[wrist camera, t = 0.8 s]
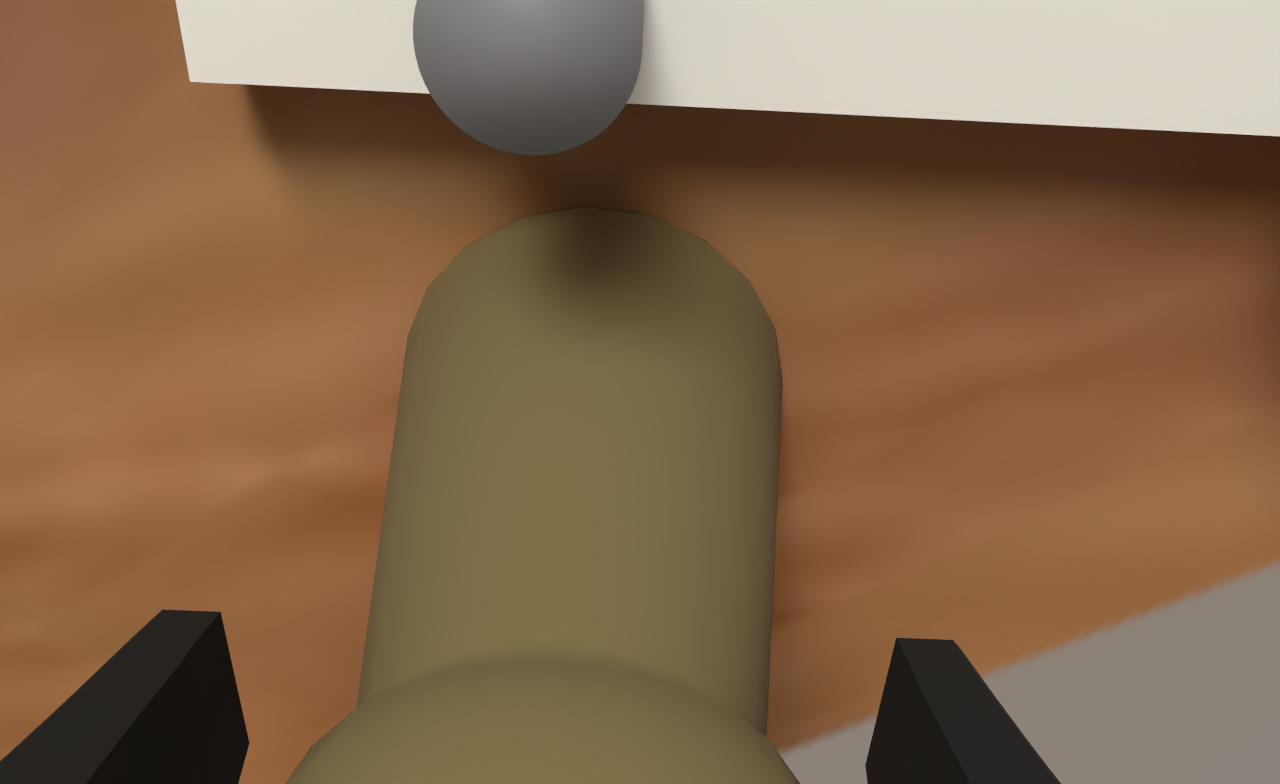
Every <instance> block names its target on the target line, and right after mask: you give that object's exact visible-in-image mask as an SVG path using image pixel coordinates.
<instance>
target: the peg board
mask: <svg viewBox="0 0 1280 784" xmlns="http://www.w3.org/2000/svg"><path fill="white" fill-rule="evenodd" d="M176 5H177V11H178V16H179V22H180V28H181V33H182V39H183V45H184V50H185V56H186V62H187V67H188V73H189V78H190V82H208V83H228V84H248V85H268V86H288V87H308V88H328V89H348V90H368V91H387V92H407V93H427V94H430V95H431V96H432V98H433V99H434V101H435V102H436V104H437V105H438V106H439V108H440V109H441V110H442V111H443V113H444V114H445V115H446V116H447V117H448V118H449V119H450V120H451V121H452V122H453V123H454V124H455V125H456V126H457V127H459V128H460V129H461V130H462V131H464V132H465V133H467V134H468V135H469V136H471V137H472V138H474V139H476V140H478V141H480V142H481V143H483V144H485V145H487V146H490V147H493V148H495V149H498V150H501V151H505V152H509V153H513V154H520V155H549V154H556V153H560V152H563V151H567V150H570V149H573V148H575V147H578V146H580V145H582V144H584V143H586V142H588V141H589V140H591V139H593V138H594V137H596V136H597V135H598V134H600V133H601V132H602V131H603V130H605V129H606V128H607V127H608V126H609V125H610V124H611V123H612V122H613V121H614V120H615V119H616V118H617V116H618V115H619V114H620V112H621V111H622V109H623V108H624V107H625V105H626V104H646V105H666V106H686V107H706V108H726V109H746V110H766V111H785V112H805V113H825V114H845V115H865V116H885V117H905V118H925V119H945V120H965V121H984V122H1004V123H1024V124H1044V125H1064V126H1084V127H1104V128H1124V129H1144V130H1164V131H1183V132H1203V133H1223V134H1243V135H1263V136H1280V0H176Z"/></svg>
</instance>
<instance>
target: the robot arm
mask: <svg viewBox="0 0 1280 784" xmlns="http://www.w3.org/2000/svg"><path fill="white" fill-rule="evenodd" d="M248 746H249V740H248V735H247V731H246V726H245V721H244V717H243V712H242V708H241V703H240V699H239V694H238V690H237V685H236V680H235V676H234V671H233V667H232V662H231V658H230V653H229V649H228V644H227V640H226V635H225V630H224V626H223V621H222V617H221V612H208V611H182V610H162V611H161V612H160V613H159V614H157V615H156V616H155V617H154V618H153V619H152V620H151V621H150V622H149V623H147V624H146V625H145V626H144V627H143V628H142V629H141V630H140V631H139V632H138V633H137V634H136V635H135V636H133V637H132V638H131V639H130V640H129V641H128V642H127V643H126V644H125V645H124V646H123V647H122V648H121V649H120V650H119V651H118V652H117V653H116V654H115V655H114V656H112V657H111V658H110V659H109V660H108V661H107V662H106V663H105V664H104V665H103V666H102V667H101V668H100V669H99V670H98V671H97V672H96V673H95V674H94V675H93V676H92V677H91V678H89V679H88V680H87V681H86V682H85V683H84V684H83V685H82V686H81V687H80V688H79V689H78V690H77V691H76V692H75V693H74V694H73V695H72V696H70V697H69V698H68V699H67V700H66V701H65V702H64V703H63V704H62V705H61V706H60V707H59V708H58V709H57V710H56V711H55V712H54V713H52V714H51V715H50V716H49V717H48V718H47V719H46V720H45V721H44V722H43V723H42V724H41V725H39V726H38V727H37V728H36V729H35V730H34V731H33V732H32V733H31V734H30V735H28V736H27V737H26V738H25V739H24V740H23V741H22V742H21V743H20V744H19V745H18V746H16V747H15V748H14V749H13V750H12V751H11V752H10V753H9V754H8V755H7V756H5V757H4V758H3V759H2V760H1V761H0V784H238V782H239V779H240V775H241V771H242V768H243V764H244V760H245V757H246V753H247V749H248ZM866 773H867V781H868V784H1061V783H1060V782H1059V781H1058V779H1057V778H1056V777H1055V775H1054V774H1053V773H1052V772H1051V770H1050V769H1049V768H1048V767H1047V765H1046V764H1045V763H1044V761H1043V760H1042V759H1041V757H1040V756H1039V755H1038V754H1037V752H1036V751H1035V750H1034V748H1033V747H1032V746H1031V745H1030V743H1029V742H1028V740H1027V739H1026V738H1025V736H1024V735H1023V734H1022V732H1021V731H1020V730H1019V728H1018V727H1017V726H1016V724H1015V723H1014V722H1013V720H1012V719H1011V718H1010V716H1009V715H1008V714H1007V712H1006V711H1005V709H1004V708H1003V707H1002V706H1001V704H1000V703H999V701H998V700H997V699H996V698H995V696H994V694H993V693H992V692H991V690H990V689H989V688H988V686H987V685H986V683H985V682H984V681H983V679H982V678H981V676H980V675H979V674H978V672H977V671H976V669H975V668H974V667H973V665H972V664H971V662H970V661H969V660H968V658H967V657H966V656H965V654H964V653H963V651H962V650H961V649H960V648H959V646H958V645H957V644H956V643H955V642H954V641H953V640H936V639H910V638H896V641H895V646H894V650H893V654H892V658H891V662H890V666H889V670H888V674H887V679H886V683H885V687H884V691H883V695H882V699H881V703H880V707H879V712H878V716H877V720H876V724H875V728H874V732H873V736H872V741H871V745H870V749H869V753H868V757H867V762H866Z"/></svg>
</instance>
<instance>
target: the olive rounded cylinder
mask: <svg viewBox="0 0 1280 784" xmlns="http://www.w3.org/2000/svg"><path fill="white" fill-rule="evenodd" d="M781 399H782V374H781V367H780V359H779V352H778V345H777V337H776V330H775V327H774V326H773V324H772V322H771V320H770V318H769V316H768V314H767V313H766V311H765V309H764V307H763V305H762V303H761V302H760V300H759V298H758V296H757V294H756V292H755V290H754V289H753V287H752V285H751V283H750V281H749V280H748V279H747V278H746V277H745V276H744V275H742V274H741V273H740V272H739V271H738V270H737V269H736V268H735V267H734V266H733V265H731V264H730V263H729V262H728V261H727V260H726V259H725V258H724V257H723V256H722V255H720V254H719V253H718V252H717V251H716V250H715V249H714V248H713V247H712V246H710V245H709V244H708V243H707V242H706V241H705V240H703V239H700V238H698V237H696V236H694V235H691V234H689V233H687V232H685V231H683V230H680V229H678V228H676V227H674V226H671V225H669V224H667V223H665V222H663V221H660V220H658V219H656V218H654V217H652V216H649V215H646V214H638V213H630V212H622V211H614V210H606V209H598V208H590V207H578V208H573V209H567V210H561V211H555V212H550V213H544V214H538V215H532V216H527V217H521V218H519V219H517V220H515V221H513V222H511V223H509V224H507V225H505V226H503V227H501V228H500V229H498V230H496V231H494V232H492V233H490V234H488V235H486V236H484V237H482V238H481V239H479V240H477V241H475V242H473V243H471V244H469V245H467V246H466V247H465V248H464V249H463V250H462V251H461V252H460V253H459V254H458V255H457V257H456V258H455V259H454V260H453V261H452V262H451V263H450V264H449V265H448V266H447V267H446V268H445V269H444V271H443V272H442V273H441V274H440V275H439V276H438V277H437V278H436V279H435V280H434V281H433V282H432V283H431V284H430V286H429V287H428V288H427V290H426V293H425V295H424V298H423V300H422V303H421V305H420V308H419V310H418V313H417V315H416V317H415V320H414V322H413V325H412V327H411V330H410V332H409V335H408V338H407V345H406V353H405V360H404V367H403V374H402V382H401V389H400V396H399V403H398V411H397V418H396V425H395V432H394V440H393V447H392V454H391V462H390V469H389V476H388V483H387V491H386V498H385V505H384V512H383V520H382V527H381V534H380V541H379V549H378V556H377V563H376V570H375V578H374V585H373V592H372V599H371V607H370V614H369V621H368V628H367V636H366V643H365V650H364V657H363V665H362V672H361V679H360V687H359V694H358V701H357V708H356V709H355V710H354V711H352V712H351V713H350V714H349V715H348V716H347V717H345V718H344V719H343V720H342V721H341V722H339V723H338V724H337V725H336V726H335V727H334V728H332V729H331V730H330V731H329V732H328V733H327V734H325V735H324V736H323V737H322V738H321V739H320V740H318V741H317V742H316V743H315V744H314V745H313V746H311V748H310V749H309V751H308V752H307V754H306V755H305V756H304V758H303V759H302V761H301V762H300V763H299V765H298V766H297V768H296V769H295V771H294V772H293V773H292V775H291V776H290V778H289V779H288V780H287V782H286V783H285V784H800V783H799V781H798V780H797V779H796V777H795V776H794V774H793V773H792V772H791V770H790V769H789V768H788V766H787V765H786V763H785V762H784V760H783V759H782V757H781V756H780V755H779V753H778V752H777V750H776V749H775V748H774V746H773V745H772V743H771V742H770V741H769V740H768V739H767V738H766V732H767V710H768V688H769V666H770V644H771V621H772V599H773V577H774V555H775V532H776V510H777V488H778V466H779V444H780V421H781Z"/></svg>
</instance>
